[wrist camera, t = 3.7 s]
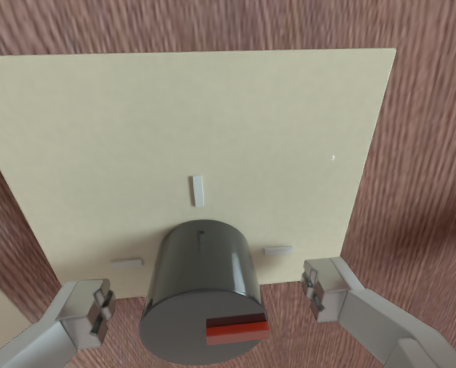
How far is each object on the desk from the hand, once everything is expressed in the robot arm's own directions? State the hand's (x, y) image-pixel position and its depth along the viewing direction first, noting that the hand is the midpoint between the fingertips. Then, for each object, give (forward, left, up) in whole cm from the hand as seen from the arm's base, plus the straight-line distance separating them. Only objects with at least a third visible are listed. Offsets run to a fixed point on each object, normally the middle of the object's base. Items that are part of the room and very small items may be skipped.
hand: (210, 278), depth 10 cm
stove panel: (0, +3, -5) cm, 5 cm away
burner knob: (0, 0, -1) cm, 1 cm away
